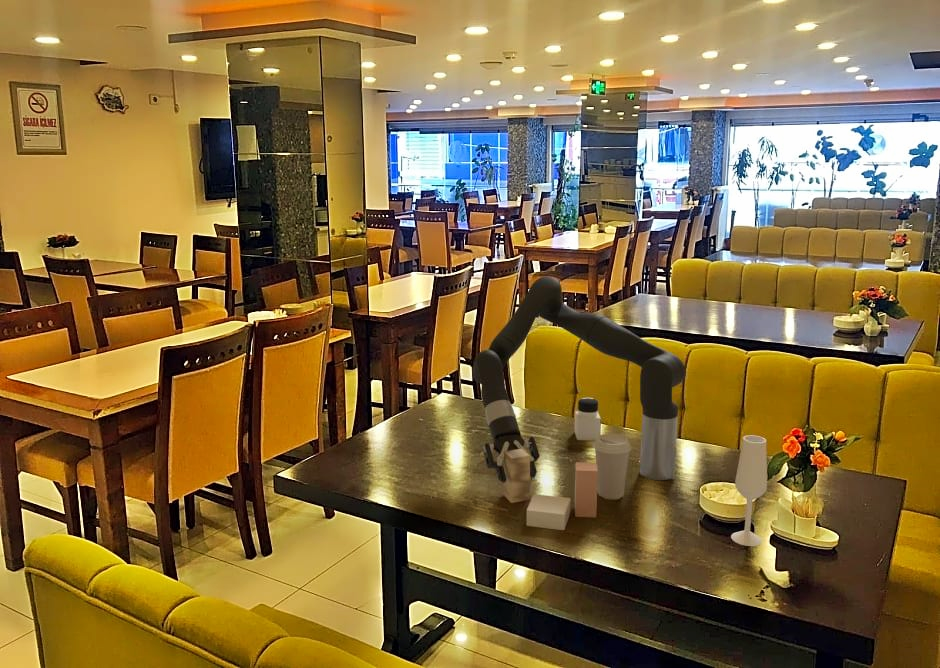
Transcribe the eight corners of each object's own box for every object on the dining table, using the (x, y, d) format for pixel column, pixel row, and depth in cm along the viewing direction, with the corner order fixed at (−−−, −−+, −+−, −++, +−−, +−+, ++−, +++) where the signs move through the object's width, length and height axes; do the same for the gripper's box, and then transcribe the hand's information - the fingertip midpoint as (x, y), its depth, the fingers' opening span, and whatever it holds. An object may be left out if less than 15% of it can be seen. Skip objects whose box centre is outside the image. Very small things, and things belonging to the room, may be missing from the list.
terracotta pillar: (594, 508, 189) (596, 462, 187) (596, 517, 185) (597, 471, 182) (574, 507, 190) (575, 462, 187) (575, 516, 185) (576, 470, 182)
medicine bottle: (600, 440, 234) (601, 403, 231) (577, 440, 234) (578, 403, 231) (597, 432, 241) (598, 395, 238) (574, 432, 241) (575, 395, 238)
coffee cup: (584, 490, 200) (586, 435, 196) (615, 483, 203) (617, 430, 200) (605, 504, 191) (607, 448, 188) (637, 498, 195) (639, 442, 191)
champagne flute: (745, 548, 169) (754, 446, 164) (724, 535, 175) (731, 436, 170) (768, 542, 172) (777, 441, 167) (747, 529, 178) (755, 431, 173)
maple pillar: (521, 491, 199) (522, 448, 196) (529, 499, 194) (530, 455, 192) (503, 494, 197) (504, 451, 194) (511, 503, 193) (511, 458, 190)
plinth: (570, 513, 187) (570, 498, 186) (564, 530, 178) (564, 514, 177) (533, 509, 189) (533, 494, 188) (526, 525, 181) (526, 510, 180)
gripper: (523, 424, 206) (540, 481, 198) (473, 430, 202) (488, 489, 194) (531, 411, 200) (549, 469, 192) (479, 418, 196) (496, 477, 188)
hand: (518, 479), depth 193 cm, fingers open, 7 cm apart
